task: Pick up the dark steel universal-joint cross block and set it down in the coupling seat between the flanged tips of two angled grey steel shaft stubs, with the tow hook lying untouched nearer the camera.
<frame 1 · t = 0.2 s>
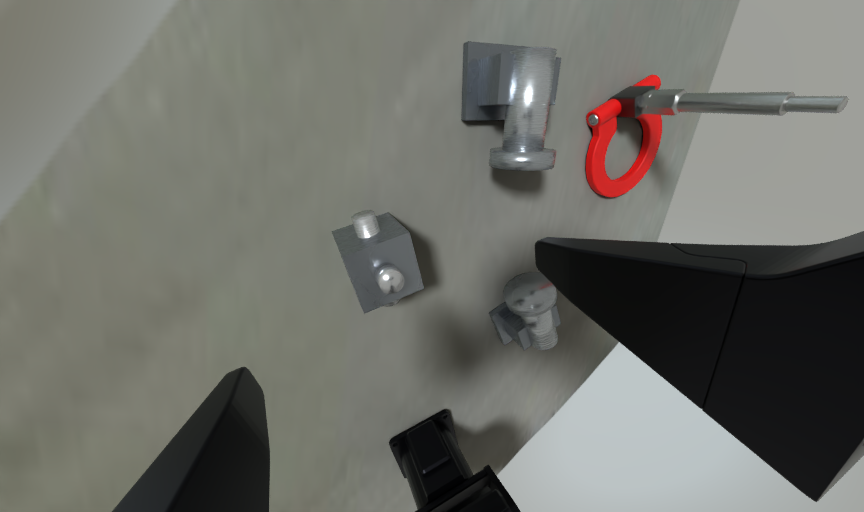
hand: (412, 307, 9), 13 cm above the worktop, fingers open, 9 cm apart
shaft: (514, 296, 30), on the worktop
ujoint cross: (369, 247, 22), on the worktop
tow hook: (616, 144, 28), on the worktop
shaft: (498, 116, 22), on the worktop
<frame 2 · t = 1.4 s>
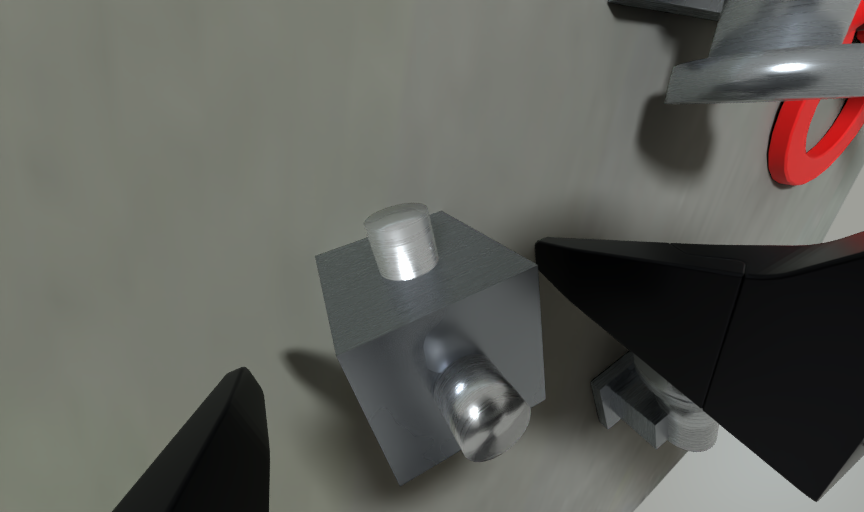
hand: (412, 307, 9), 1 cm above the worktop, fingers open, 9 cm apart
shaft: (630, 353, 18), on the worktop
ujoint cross: (398, 286, 10), on the worktop
tow hook: (814, 93, 16), on the worktop
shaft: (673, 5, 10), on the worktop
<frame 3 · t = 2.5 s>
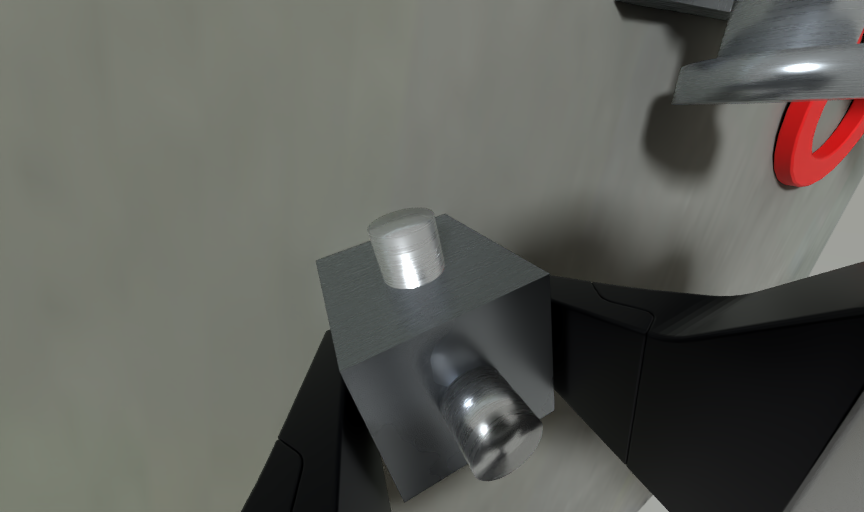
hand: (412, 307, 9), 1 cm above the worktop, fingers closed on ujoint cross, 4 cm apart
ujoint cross: (401, 291, 10), on the worktop, touching gripper
tow hook: (820, 94, 16), on the worktop
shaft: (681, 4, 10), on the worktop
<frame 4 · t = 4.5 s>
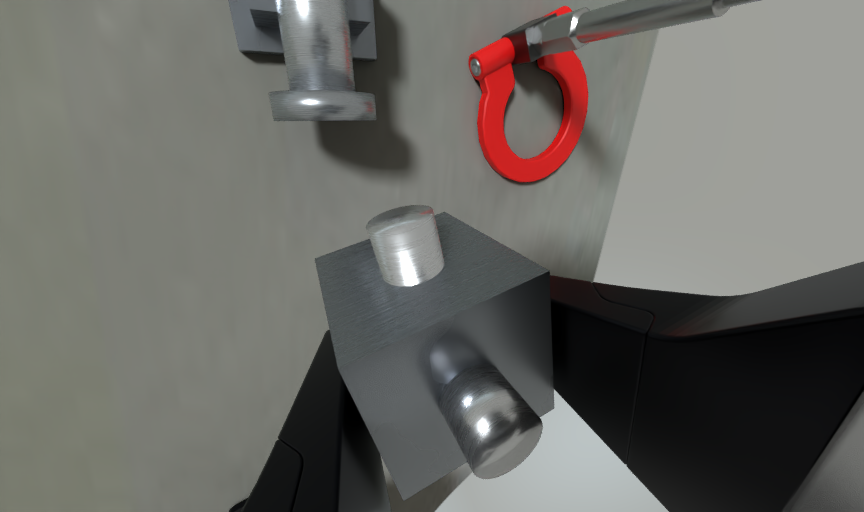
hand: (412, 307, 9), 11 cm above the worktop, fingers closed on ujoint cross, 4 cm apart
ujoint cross: (400, 289, 10), point 10 cm above the worktop, touching gripper
tow hook: (526, 110, 21), on the worktop
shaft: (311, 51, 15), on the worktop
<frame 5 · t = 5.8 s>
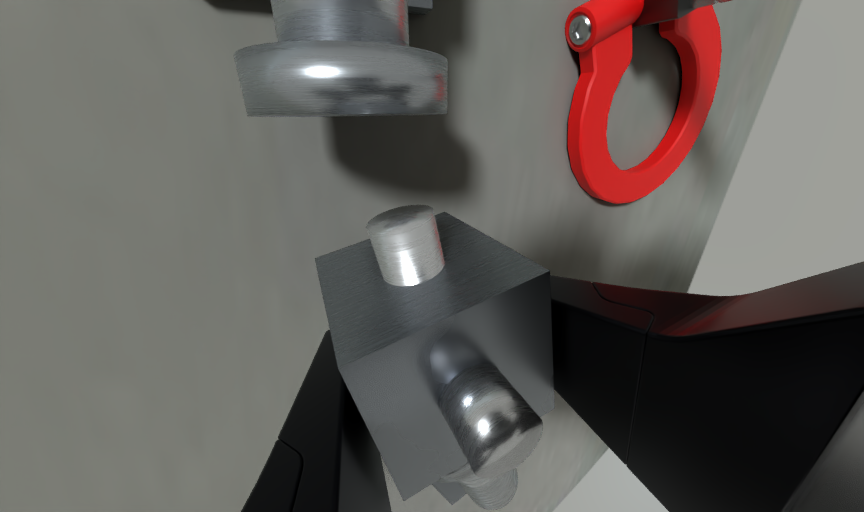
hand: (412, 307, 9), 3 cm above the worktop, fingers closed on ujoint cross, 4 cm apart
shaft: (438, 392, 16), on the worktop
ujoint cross: (400, 289, 10), point 2 cm above the worktop, touching gripper
tow hook: (629, 100, 14), on the worktop
when the fingers open (2 cm above the worktop, at t = 6.7 s): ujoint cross drops 2 cm, on the worktop.
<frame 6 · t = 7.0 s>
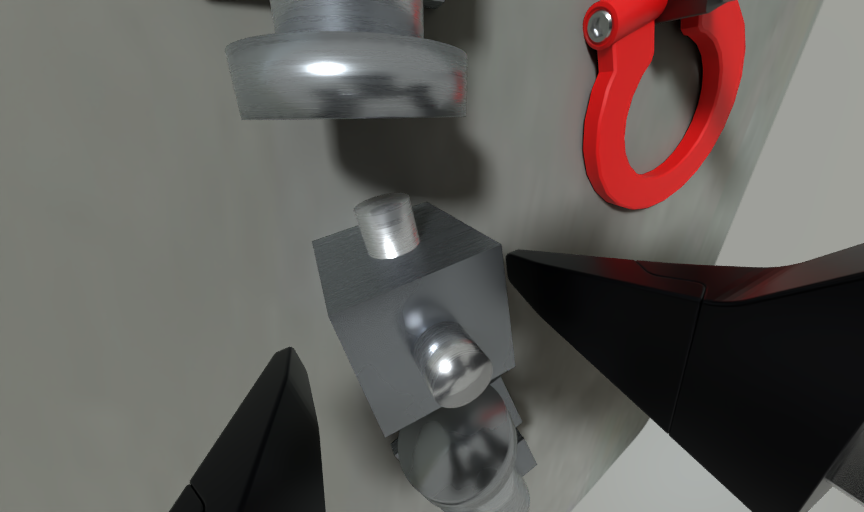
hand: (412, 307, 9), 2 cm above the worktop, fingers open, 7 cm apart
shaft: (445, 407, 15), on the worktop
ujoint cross: (388, 270, 11), on the worktop
tow hook: (647, 100, 14), on the worktop
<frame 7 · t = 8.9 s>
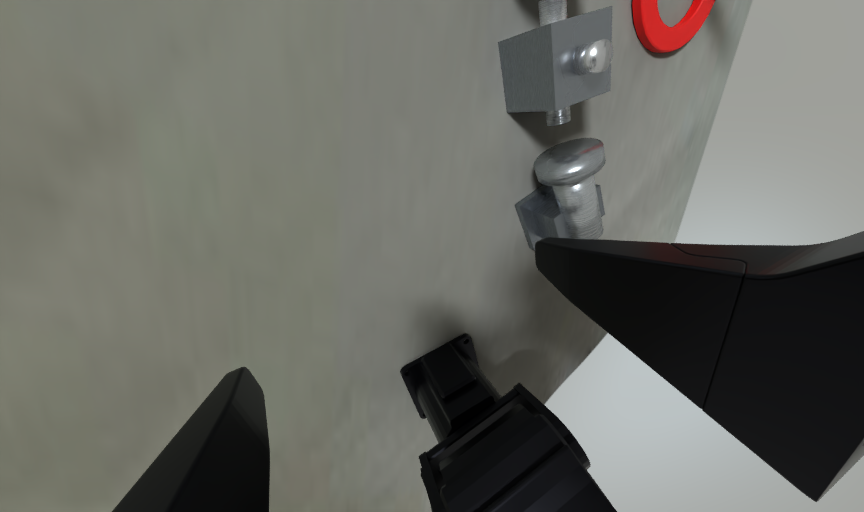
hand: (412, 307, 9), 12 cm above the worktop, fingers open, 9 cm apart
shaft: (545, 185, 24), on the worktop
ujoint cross: (527, 71, 20), on the worktop
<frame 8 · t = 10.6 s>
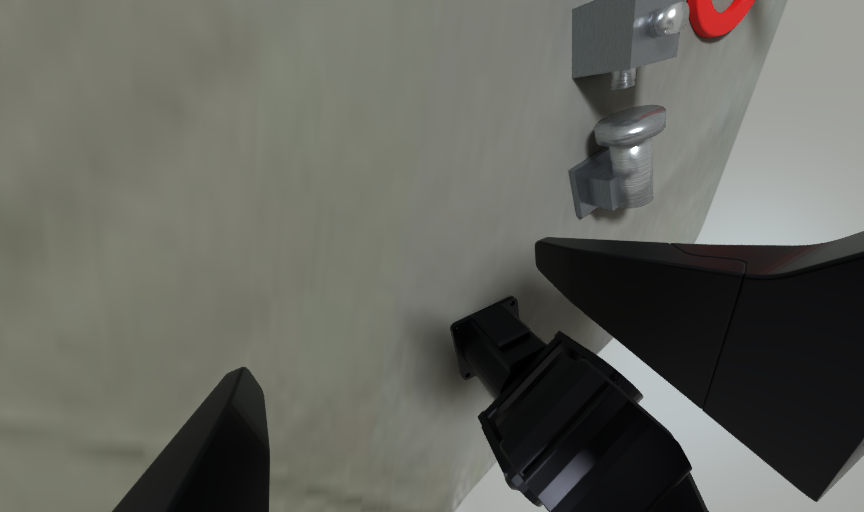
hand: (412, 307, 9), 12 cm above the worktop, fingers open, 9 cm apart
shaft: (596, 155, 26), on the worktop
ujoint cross: (593, 40, 22), on the worktop
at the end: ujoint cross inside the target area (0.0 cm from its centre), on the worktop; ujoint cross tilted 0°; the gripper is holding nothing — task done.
